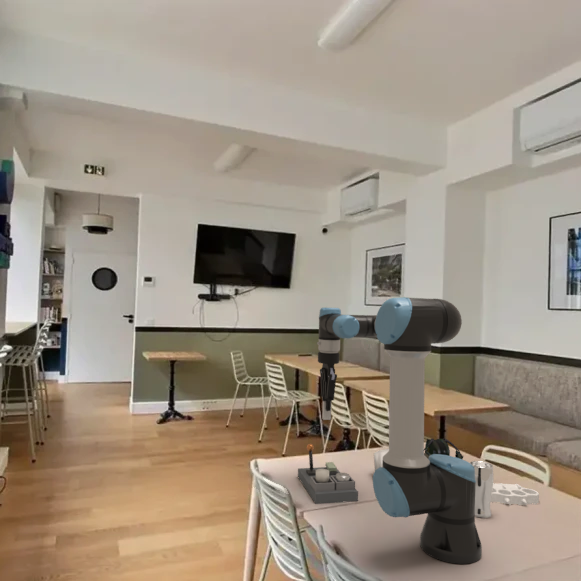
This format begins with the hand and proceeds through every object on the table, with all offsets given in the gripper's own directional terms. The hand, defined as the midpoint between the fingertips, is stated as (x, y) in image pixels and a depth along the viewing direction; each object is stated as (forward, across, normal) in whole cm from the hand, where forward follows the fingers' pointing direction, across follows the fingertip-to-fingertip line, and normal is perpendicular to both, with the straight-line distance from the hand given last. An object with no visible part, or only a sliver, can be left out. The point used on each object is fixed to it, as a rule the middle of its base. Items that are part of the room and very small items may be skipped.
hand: (326, 419), depth 169 cm
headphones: (+23, -13, +52) cm, 59 cm away
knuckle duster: (+23, +21, +57) cm, 65 cm away
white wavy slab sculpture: (+23, +8, +27) cm, 36 cm away
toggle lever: (+19, -2, -4) cm, 19 cm away
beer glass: (+22, +31, +41) cm, 55 cm away
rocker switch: (+19, -2, +3) cm, 19 cm away
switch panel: (+23, +4, -1) cm, 23 cm away
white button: (+17, +11, -4) cm, 21 cm away
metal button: (+19, +11, +3) cm, 22 cm away
